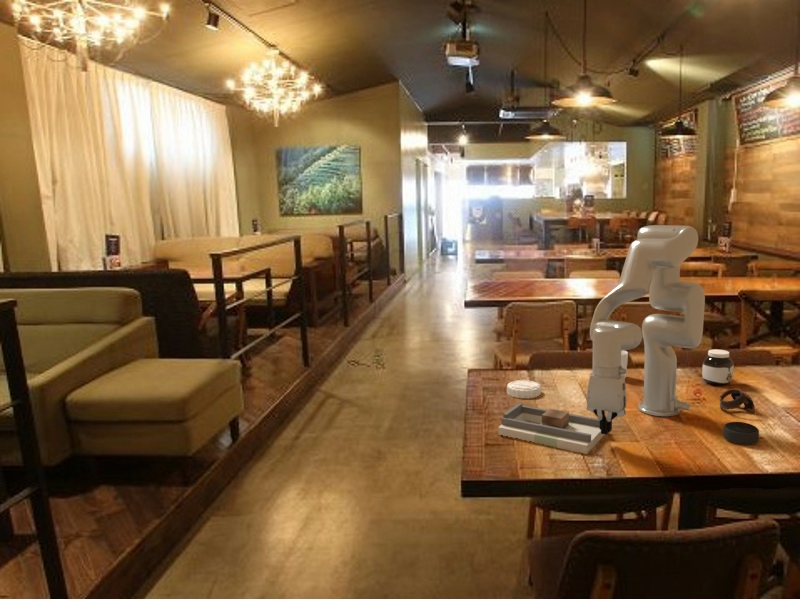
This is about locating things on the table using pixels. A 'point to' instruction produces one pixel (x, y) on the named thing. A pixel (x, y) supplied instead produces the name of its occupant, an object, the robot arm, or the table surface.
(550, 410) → the walnut block
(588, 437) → the lane board
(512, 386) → the mooncake
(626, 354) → the white cup
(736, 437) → the smart speaker
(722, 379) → the spread jar
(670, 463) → the table surface
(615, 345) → the robot arm
